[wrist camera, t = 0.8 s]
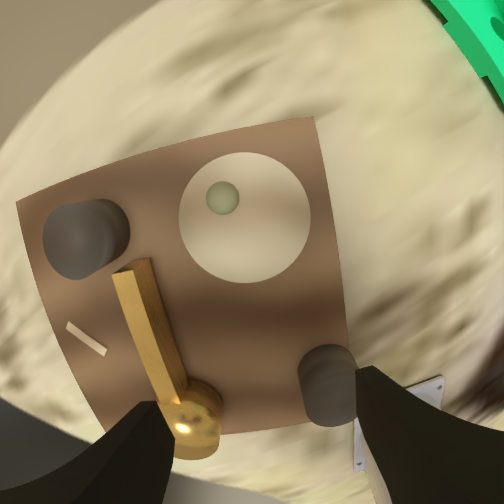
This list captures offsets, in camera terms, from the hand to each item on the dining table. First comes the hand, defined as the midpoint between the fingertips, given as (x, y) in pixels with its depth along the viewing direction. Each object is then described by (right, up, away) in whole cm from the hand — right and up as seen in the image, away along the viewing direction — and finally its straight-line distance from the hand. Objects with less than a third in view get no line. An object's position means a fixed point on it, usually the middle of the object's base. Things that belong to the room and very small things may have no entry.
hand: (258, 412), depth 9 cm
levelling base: (-5, +2, +9) cm, 10 cm away
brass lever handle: (-5, -1, +8) cm, 10 cm away
